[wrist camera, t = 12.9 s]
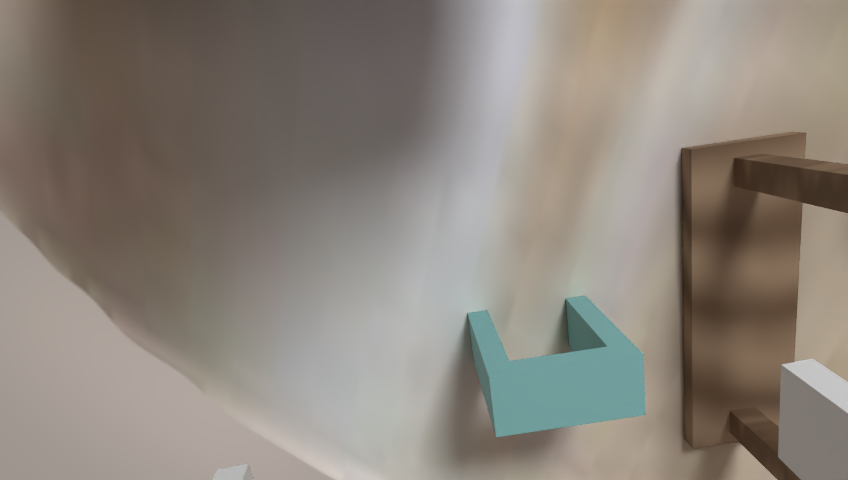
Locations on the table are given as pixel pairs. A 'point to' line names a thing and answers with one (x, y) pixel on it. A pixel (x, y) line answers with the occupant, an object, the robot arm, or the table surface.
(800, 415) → the robot arm
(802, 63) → the table surface
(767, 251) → the walnut stand
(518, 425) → the teal arch block
